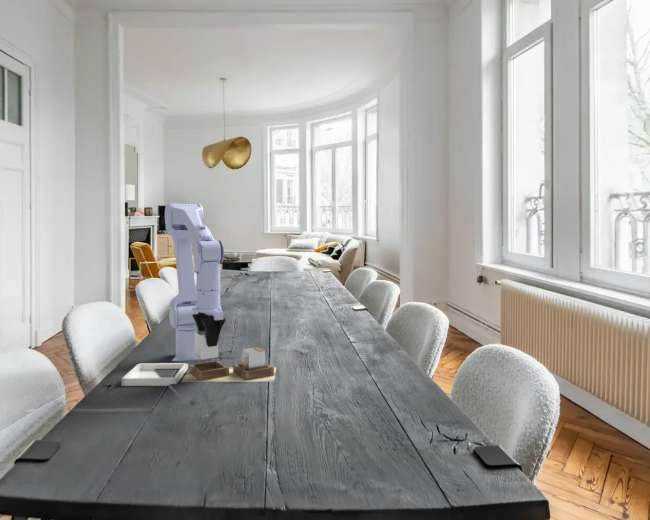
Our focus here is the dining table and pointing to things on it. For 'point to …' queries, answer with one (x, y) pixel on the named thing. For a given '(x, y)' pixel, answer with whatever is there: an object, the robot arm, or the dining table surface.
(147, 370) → the white square tray
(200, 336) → the loose billet
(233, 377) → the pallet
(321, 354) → the dining table surface
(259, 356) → the seated billet
